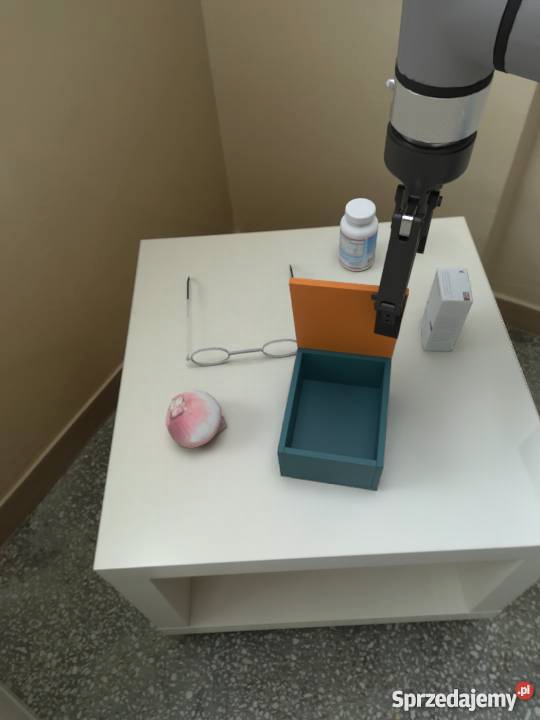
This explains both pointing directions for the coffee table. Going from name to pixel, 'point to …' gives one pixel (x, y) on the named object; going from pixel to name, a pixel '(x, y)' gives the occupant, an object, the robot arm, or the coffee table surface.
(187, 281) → the eyeglasses
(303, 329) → the lid
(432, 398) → the coffee table surface
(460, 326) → the cosmetic box
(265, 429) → the coffee table surface
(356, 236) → the pill bottle
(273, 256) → the coffee table surface
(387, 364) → the box
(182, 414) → the onion
